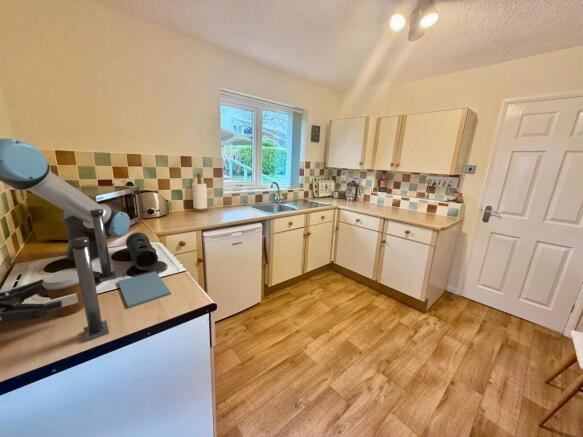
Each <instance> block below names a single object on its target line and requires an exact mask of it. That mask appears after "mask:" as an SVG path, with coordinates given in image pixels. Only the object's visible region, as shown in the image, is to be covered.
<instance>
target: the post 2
mask: <svg viewBox="0 0 583 437" xmlns="http://www.w3.org/2000/svg"><path fill="white" fill-rule="evenodd" d="M90 213H91V215H92V218H93V224H94V230H95V236H96V242H97V248H98V254H99V257H98V259H99V263H100V266H99V267H100V271H101V273H98V275H97V276H98V280H99V282H100V283H102V282H107V281H111V280H115V279H117V276H116V273H115V270H112V267H111V262H110V260H111V259H110V254H109V247H108V241H107V237H106V234H105V228H104V221H103V215H102V214H103V209H94V210H90Z"/></svg>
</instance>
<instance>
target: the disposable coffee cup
mask: <svg viewBox="0 0 583 437" xmlns="http://www.w3.org/2000/svg"><path fill="white" fill-rule="evenodd" d="M42 279H43V283H42V286H43V287H44V288H45V289H46V290H45V291H46V292H47V295H48V297H49V300H53V299H57V298H60V297H64V296H68V295H72V294H77V299H78V303H75V304H71V305H68V306H64V307H61V308H57V309H54V310H55V312H56V315H57V316H59V317H65V316H70V315H73V314H76V313H79V312H80V311H81V310H83V309H84V304H83V299H82V293H81V288H80V283H79V278H78V273H77V268H68V269H64V270H63V269H62V270H59V271H56V272H53V273H50V274H48V275H46V276H45V277H44V278H42Z"/></svg>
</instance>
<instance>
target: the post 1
mask: <svg viewBox="0 0 583 437" xmlns="http://www.w3.org/2000/svg"><path fill="white" fill-rule="evenodd" d="M69 242H70V247H71V248H73V253H74V258H75V261H74V262H75V263H74V264H75V269H77V273H78V278H79V283H80V288H81V293H82V299H83V304H84V307H83V309H84V313H85V318H86V323H87V326H85V327H83V334H84V342H85V343H86V342H90V341H92V340H95V339H98V338H100V337H103V336H105V335H108V334H110V331H109V330H110V329H109V326H108V323H107V320H106V319H105V320H103V319H102V315H101V309H100V303H99V297H98V292H97V286H96V281H95V280H96V279H95V276H94V270H93V264H92V259H91V258H90V252H89V247H88V245H89V244H90V243H89V238H88V237H79V238H74V239H71V240H70V241H69V240H68V243H69Z"/></svg>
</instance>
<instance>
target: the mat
mask: <svg viewBox="0 0 583 437" xmlns="http://www.w3.org/2000/svg"><path fill="white" fill-rule="evenodd" d="M117 284H118V286H119V288H120V291H121V294H122V297H123V298H124V301H125V304H126V306H127V309H130V308H133V307H137V306H140V305H143V304H145V303H148V302H151V301H154V300H157V299H161V298H163V297H167V296H169V295H170V296H171V294H172V292H171V290H170V289H169V287H168V286H167V284H165V282H164V281H163V279H162V278H161V277H160V275H159V274H158V273H157V271H152V272H149V273H144V274H140V275H136V276H131V277H128V278H124V279H120V280H118V281H117Z"/></svg>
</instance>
